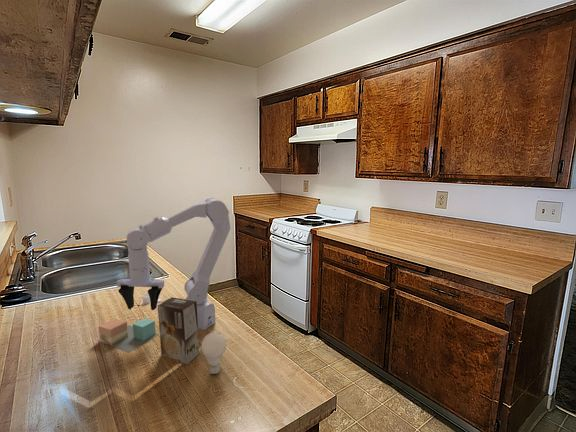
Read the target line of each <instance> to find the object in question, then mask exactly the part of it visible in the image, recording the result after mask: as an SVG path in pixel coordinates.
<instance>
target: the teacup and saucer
mask: <svg viewBox="0 0 576 432" xmlns="http://www.w3.org/2000/svg"><path fill="white" fill-rule="evenodd" d="M138 299H139V303H140V302H141V304H143V305H147V304H149V303H150V297H149V294H148V293H147V294H143V295H142V296H140V297H139V298H138ZM141 299H142V300H141ZM142 301H143V303H142ZM161 302H162V299H161V298H160V297H159V298H158V302H157V304H159V303H160V304H161ZM150 304H151V303H150Z"/></svg>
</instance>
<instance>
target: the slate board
mask: <svg viewBox="0 0 576 432" xmlns="http://www.w3.org/2000/svg"><path fill="white" fill-rule="evenodd" d="M127 331H128V337H127V338H125V339H123V340H121V341H119V342H117V343H116V344H114V345H109V344H106V343H103V342H101V341H100V339H98V341H97V342H99V343H101V344H104V345H106V346H110V347H112V348H116V349H117V350H121V351H124V352H126V353H130V352H132V351H134V350H135V349H136V350H137V348H139V347H140V346H142V345H144V344H146V343H148V342H149V341H151V340H153V339H155V338H156V337H158V336H160V333H159V334H158V333H156V334H155V335H153V336H152V337H150V338H148V339H146V340H145V341H143V340H140V339H137V338H134V334H133V325H130V324H129V325H127Z"/></svg>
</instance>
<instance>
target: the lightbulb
mask: <svg viewBox="0 0 576 432" xmlns="http://www.w3.org/2000/svg"><path fill="white" fill-rule="evenodd" d="M200 348H201V352H202V354H203V356H204V357H206V359H207V363H208V364H209V373H210V374H211V375H216V374H219V373H220V371H221V360H222V357H223V355H224V354H225V351H226V349H227V340H226V338H225V337H224V336H223V334H222V333H219V332H216V331H215V332H210V333H208V334H206V335H205V337H204V338H203V339H202V341H201V347H200Z"/></svg>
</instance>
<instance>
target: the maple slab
mask: <svg viewBox="0 0 576 432" xmlns="http://www.w3.org/2000/svg"><path fill="white" fill-rule="evenodd" d="M98 334H99V333H98ZM127 337H128V331H127V330H125V331H123V332H121V333H119V334H117V335H116V336H114V337H112V338H110V337H107V336H105V335H102V334H99V340H100V341H101V342H103V343H102V344H104V343H106V344H105V345H107V344H109V345H114V344H116V343H117V342H119V341H121V340H123V339H125V338H127ZM101 342H100V343H101ZM109 345H108V346H109Z"/></svg>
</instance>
